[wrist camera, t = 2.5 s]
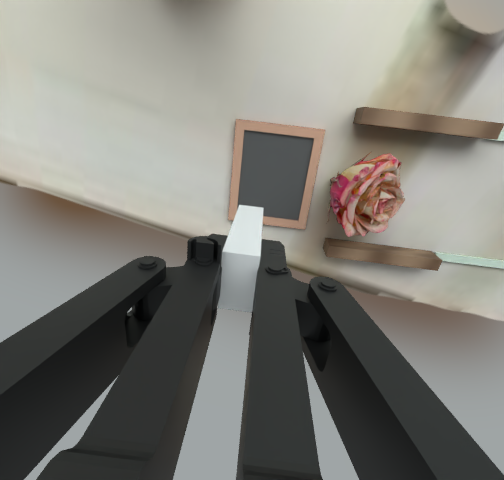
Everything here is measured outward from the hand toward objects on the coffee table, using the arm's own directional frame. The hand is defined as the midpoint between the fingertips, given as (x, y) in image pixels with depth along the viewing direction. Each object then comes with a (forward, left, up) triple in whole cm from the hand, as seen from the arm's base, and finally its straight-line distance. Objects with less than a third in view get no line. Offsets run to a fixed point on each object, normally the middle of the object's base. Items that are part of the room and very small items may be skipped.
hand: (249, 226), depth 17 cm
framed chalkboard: (-2, 0, -17) cm, 17 cm away
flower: (-12, 0, -18) cm, 21 cm away
